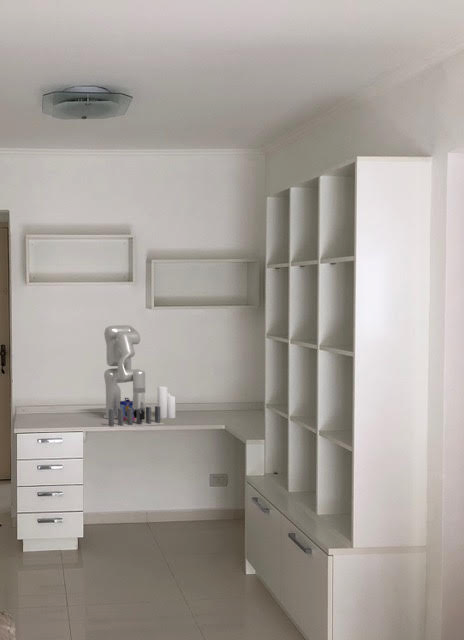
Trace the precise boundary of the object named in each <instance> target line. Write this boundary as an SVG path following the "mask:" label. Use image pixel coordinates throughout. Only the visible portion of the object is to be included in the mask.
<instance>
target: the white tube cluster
mask: <svg viewBox="0 0 464 640" xmlns="http://www.w3.org/2000/svg"><path fill="white" fill-rule="evenodd" d="M168 390H169V387H168V386H164V385H163V386H160V385H159V386H157V406H159V407H160V419H167V418H168V419H176V396H175V395H172V393H171V392H169V391H168Z"/></svg>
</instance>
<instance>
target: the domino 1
mask: <svg viewBox="0 0 464 640" xmlns="http://www.w3.org/2000/svg"><path fill="white" fill-rule="evenodd" d="M114 424H115V418H114V410H113V409H109V418H108V425H109V426H111V427H113V426H114ZM113 428H114V427H113Z"/></svg>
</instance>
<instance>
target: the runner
mask: <svg viewBox="0 0 464 640" xmlns="http://www.w3.org/2000/svg"><path fill="white" fill-rule="evenodd" d="M152 425H153V426H154V425H155V426H156V425H165V423H164V422H161V421H160V423H156V422H155V420H154V421H151V424H147V423H146V421H142V424H141V425H139V424H137V422H133V425H128V424H127V422H126V423H125V422H124V423H123V426H120V425H118V423H114V426H113V427H111V426H109V424H104V426H106V427H108V428H121V427H122V428H124V427H125V428H126V427H136V426H137V427H140V426H152Z"/></svg>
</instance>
